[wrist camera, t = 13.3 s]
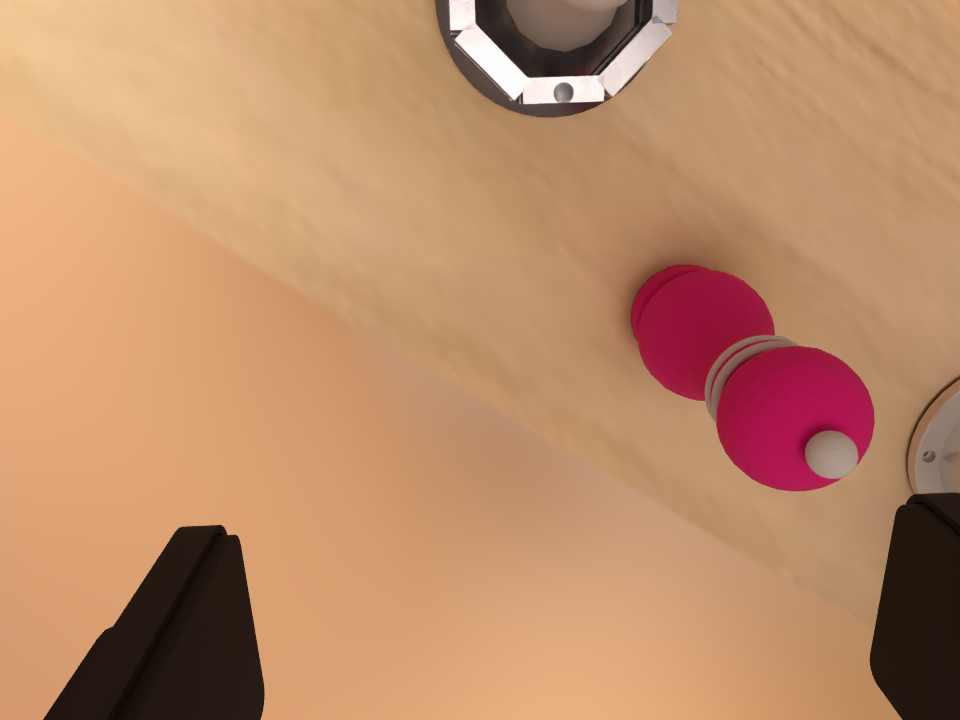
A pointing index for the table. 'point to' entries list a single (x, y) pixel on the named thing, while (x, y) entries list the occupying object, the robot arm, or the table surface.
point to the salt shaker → (562, 21)
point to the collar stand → (550, 55)
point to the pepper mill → (753, 379)
